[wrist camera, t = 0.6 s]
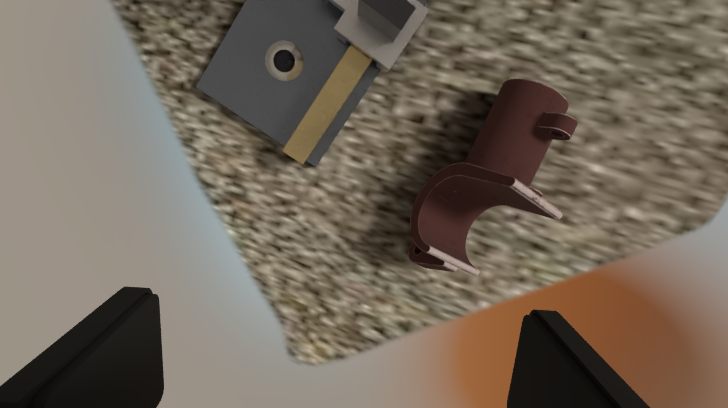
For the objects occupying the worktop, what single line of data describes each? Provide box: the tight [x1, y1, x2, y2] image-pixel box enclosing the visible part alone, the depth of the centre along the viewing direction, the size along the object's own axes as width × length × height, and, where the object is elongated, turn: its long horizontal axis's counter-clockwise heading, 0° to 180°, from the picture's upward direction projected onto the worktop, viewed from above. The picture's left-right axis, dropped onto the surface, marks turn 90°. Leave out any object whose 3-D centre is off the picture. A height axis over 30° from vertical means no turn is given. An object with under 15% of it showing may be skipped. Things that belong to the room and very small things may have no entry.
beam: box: [282, 44, 373, 165], centre depth 32 cm, size 22×6×2 cm, turn 145°
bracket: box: [408, 79, 578, 276], centre depth 33 cm, size 6×17×10 cm, turn 152°
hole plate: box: [196, 0, 427, 167], centre depth 33 cm, size 22×12×1 cm, turn 145°
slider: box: [328, 0, 429, 73], centre depth 29 cm, size 5×8×9 cm, turn 55°
